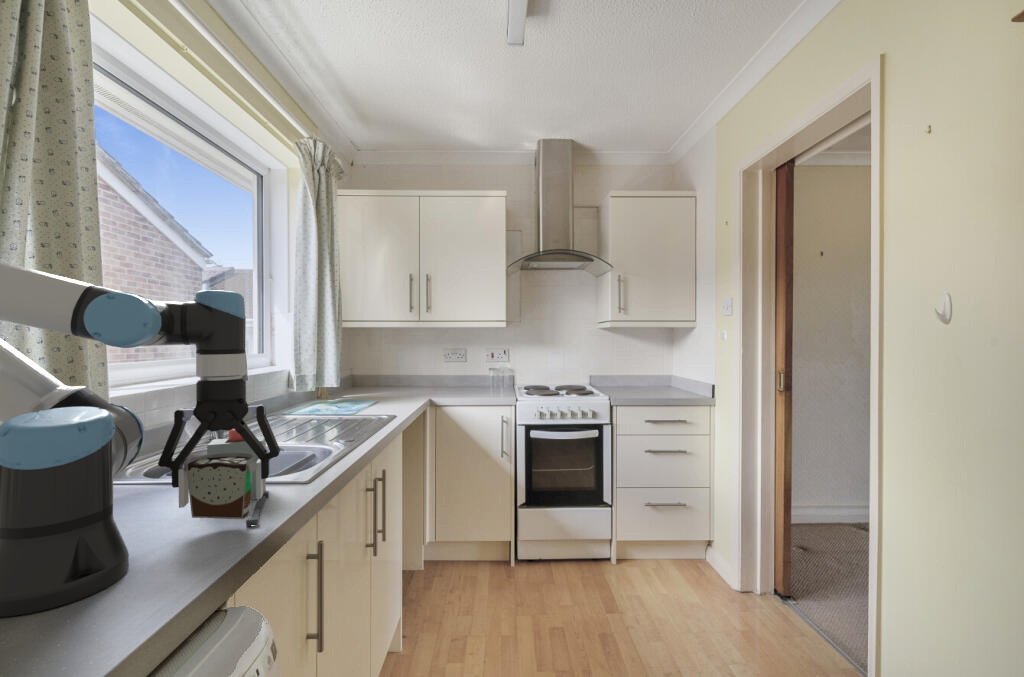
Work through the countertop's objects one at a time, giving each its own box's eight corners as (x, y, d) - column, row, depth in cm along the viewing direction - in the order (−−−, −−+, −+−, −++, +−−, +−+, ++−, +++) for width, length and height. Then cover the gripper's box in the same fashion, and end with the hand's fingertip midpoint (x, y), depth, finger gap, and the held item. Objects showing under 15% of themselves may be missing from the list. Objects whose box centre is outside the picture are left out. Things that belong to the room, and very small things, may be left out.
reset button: (227, 442, 97) (227, 431, 97) (230, 439, 101) (230, 428, 101) (245, 441, 99) (245, 429, 99) (248, 438, 102) (248, 427, 102)
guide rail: (246, 527, 84) (246, 520, 84) (259, 497, 99) (259, 491, 99) (257, 525, 84) (257, 519, 84) (268, 496, 100) (268, 490, 100)
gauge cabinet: (206, 504, 95) (206, 445, 95) (213, 495, 100) (213, 439, 100) (262, 498, 98) (262, 441, 98) (265, 490, 104) (265, 436, 104)
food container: (272, 506, 86) (272, 451, 86) (251, 519, 80) (250, 460, 80) (210, 504, 87) (209, 450, 87) (183, 517, 81) (182, 459, 81)
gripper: (295, 374, 91) (296, 486, 91) (150, 378, 83) (151, 502, 83) (292, 377, 84) (293, 499, 84) (132, 382, 76) (134, 517, 76)
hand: (222, 500), depth 84 cm, fingers closed on food container, 11 cm apart
